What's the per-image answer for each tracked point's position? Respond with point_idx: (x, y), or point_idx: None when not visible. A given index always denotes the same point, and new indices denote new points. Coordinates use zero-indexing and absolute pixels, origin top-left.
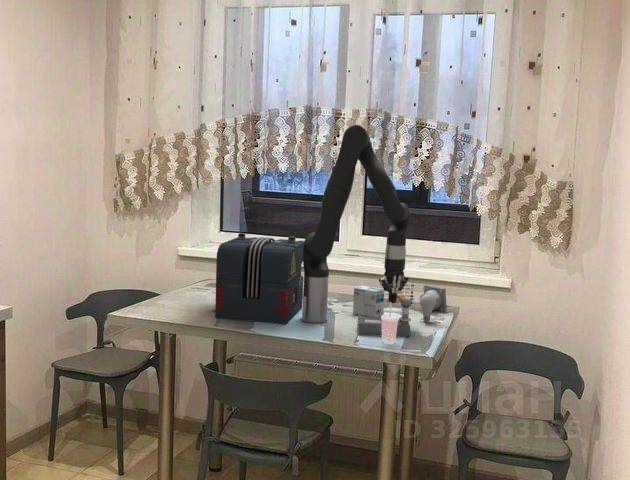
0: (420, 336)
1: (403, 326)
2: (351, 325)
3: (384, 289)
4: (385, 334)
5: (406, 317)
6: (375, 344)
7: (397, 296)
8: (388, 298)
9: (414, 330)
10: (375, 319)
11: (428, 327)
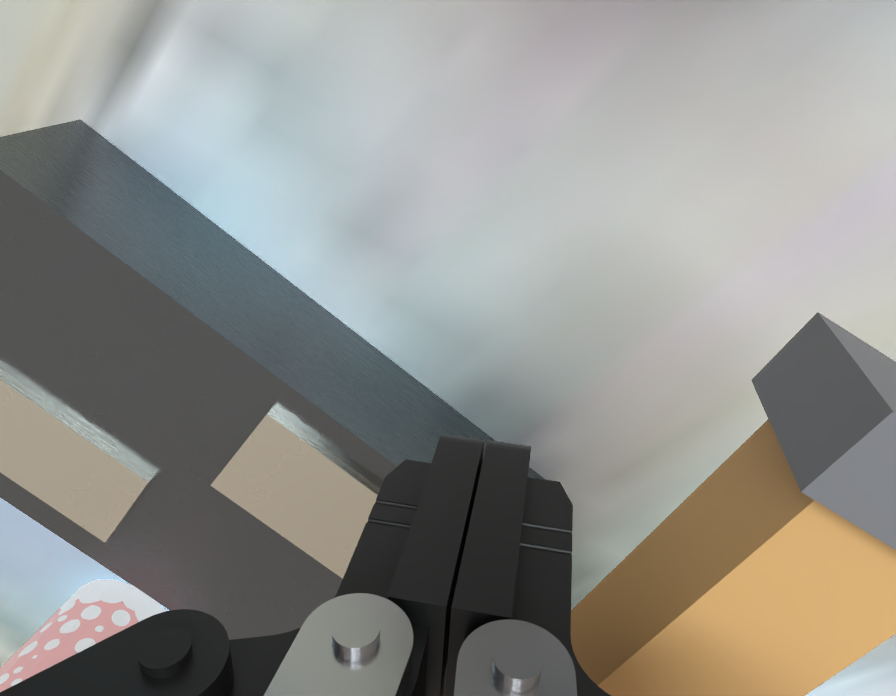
0: None
1: None
2: (39, 6)
3: (88, 676)
4: None
5: None
6: (8, 593)
7: (667, 584)
8: (376, 499)
9: (605, 554)
10: (137, 394)
11: None
